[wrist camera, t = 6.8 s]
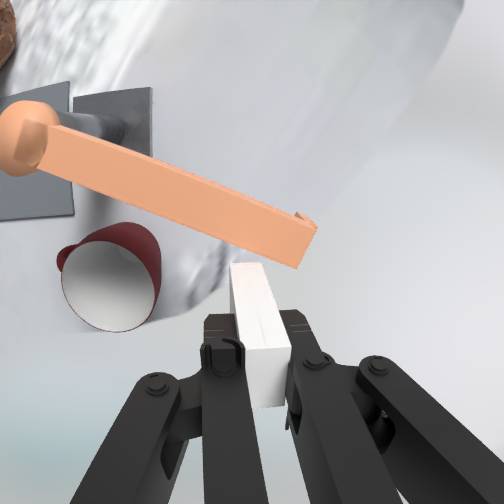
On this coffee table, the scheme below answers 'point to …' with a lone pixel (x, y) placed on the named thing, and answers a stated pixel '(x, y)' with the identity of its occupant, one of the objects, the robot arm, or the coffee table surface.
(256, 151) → the coffee table surface
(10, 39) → the decorative rock
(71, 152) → the ball-ended drumstick
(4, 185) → the mat
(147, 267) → the mug
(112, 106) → the clip post
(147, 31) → the coffee table surface
